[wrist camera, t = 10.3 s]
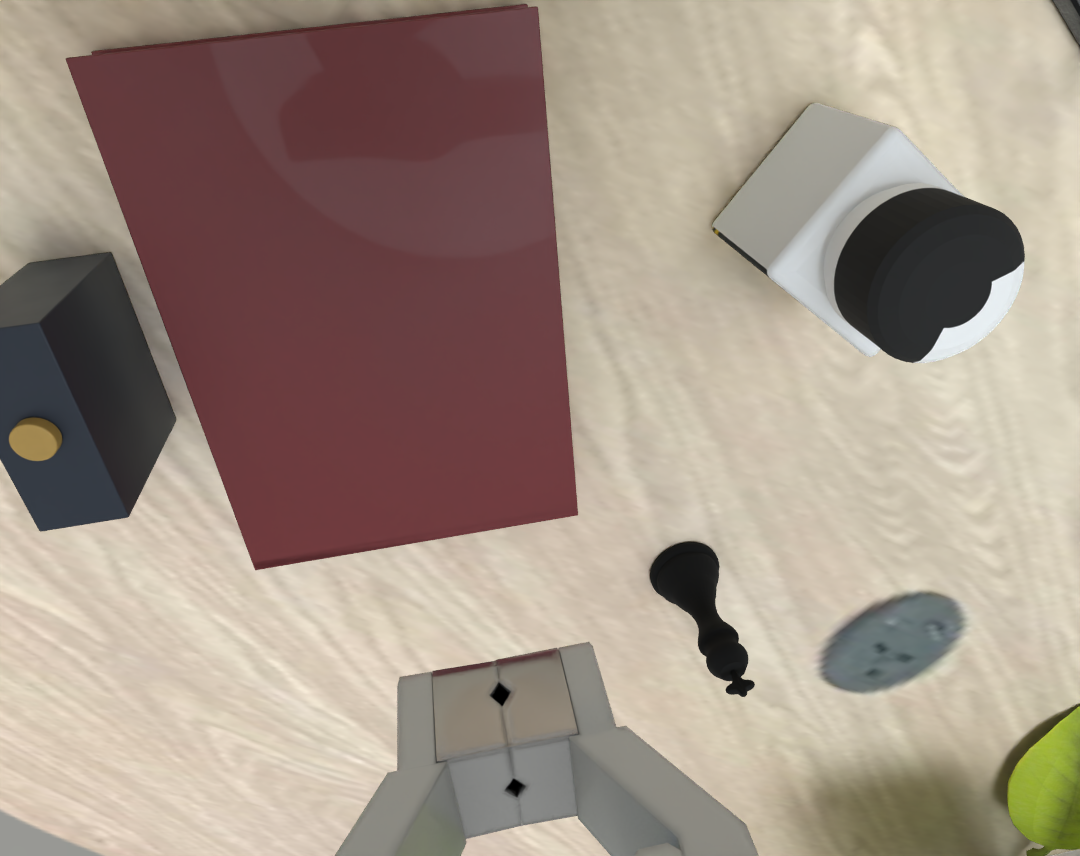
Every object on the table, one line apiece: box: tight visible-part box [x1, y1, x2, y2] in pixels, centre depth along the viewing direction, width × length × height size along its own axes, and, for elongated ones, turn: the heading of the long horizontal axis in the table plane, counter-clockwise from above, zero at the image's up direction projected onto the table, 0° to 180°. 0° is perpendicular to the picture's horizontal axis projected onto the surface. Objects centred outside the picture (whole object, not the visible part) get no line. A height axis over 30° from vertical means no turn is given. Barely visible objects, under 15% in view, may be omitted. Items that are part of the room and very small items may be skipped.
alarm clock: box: [0, 253, 176, 531], centre depth 32 cm, size 9×7×8 cm
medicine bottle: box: [712, 103, 1025, 363], centre depth 33 cm, size 7×7×12 cm
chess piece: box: [650, 542, 755, 697], centre depth 44 cm, size 4×4×10 cm
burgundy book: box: [66, 4, 578, 570], centre depth 36 cm, size 24×17×3 cm
